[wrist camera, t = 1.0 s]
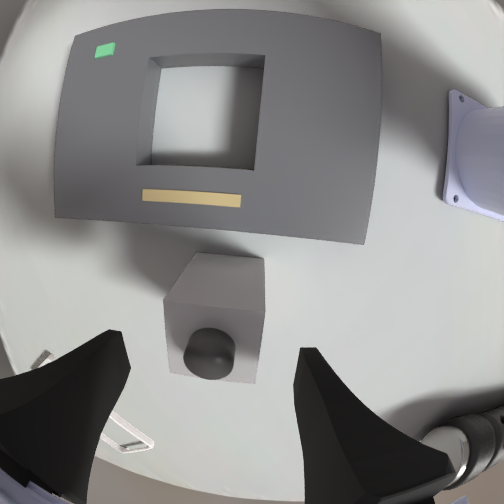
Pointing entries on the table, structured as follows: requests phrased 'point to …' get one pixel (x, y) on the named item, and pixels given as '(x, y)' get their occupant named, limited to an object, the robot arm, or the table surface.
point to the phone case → (121, 422)
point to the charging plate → (269, 129)
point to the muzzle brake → (470, 443)
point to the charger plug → (216, 318)
